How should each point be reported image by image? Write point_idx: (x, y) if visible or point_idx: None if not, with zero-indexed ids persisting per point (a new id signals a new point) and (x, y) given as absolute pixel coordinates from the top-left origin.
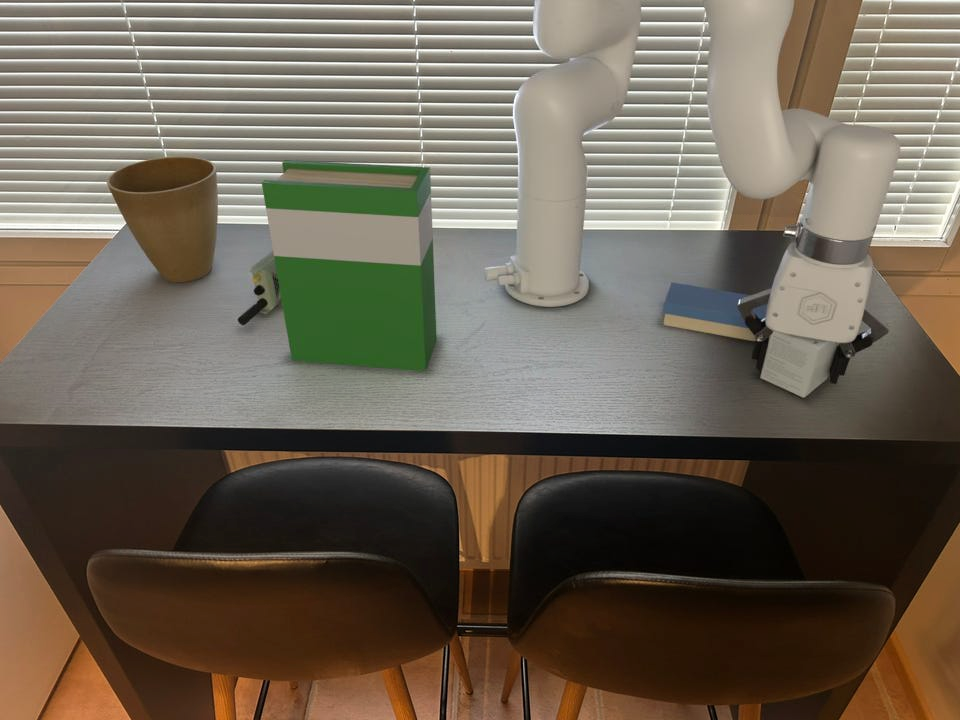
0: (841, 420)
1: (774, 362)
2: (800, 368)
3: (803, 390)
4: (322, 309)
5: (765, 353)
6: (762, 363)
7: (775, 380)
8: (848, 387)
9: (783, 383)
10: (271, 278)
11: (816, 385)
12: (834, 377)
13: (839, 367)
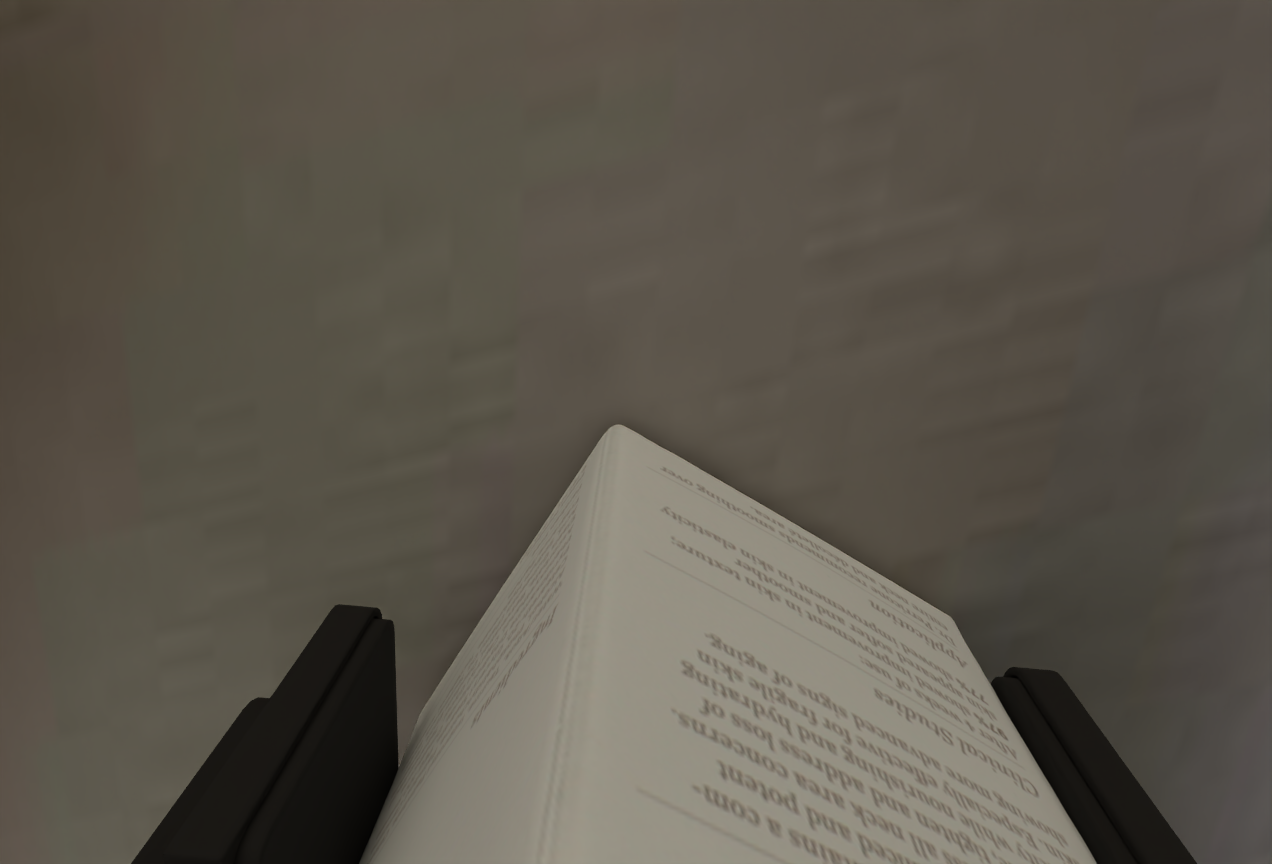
0: (295, 179)
1: (957, 723)
2: (719, 626)
3: (631, 458)
4: None
5: (1096, 820)
6: (1034, 718)
7: (860, 575)
8: (265, 652)
9: (798, 541)
10: None
11: (506, 585)
12: (342, 645)
13: (266, 735)
